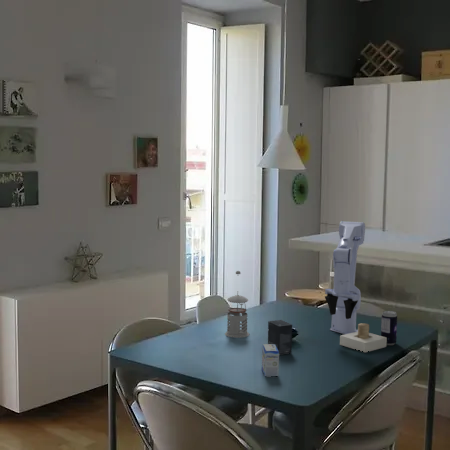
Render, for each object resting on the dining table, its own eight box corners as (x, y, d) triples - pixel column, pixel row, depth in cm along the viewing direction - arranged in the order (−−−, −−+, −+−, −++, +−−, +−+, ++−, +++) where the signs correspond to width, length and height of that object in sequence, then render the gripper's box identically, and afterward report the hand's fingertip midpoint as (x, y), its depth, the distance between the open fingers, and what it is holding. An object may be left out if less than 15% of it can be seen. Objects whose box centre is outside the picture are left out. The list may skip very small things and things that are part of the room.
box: (291, 353, 248) (292, 324, 247) (278, 355, 246) (278, 325, 245) (280, 347, 255) (281, 319, 254) (267, 349, 253) (267, 320, 252)
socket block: (339, 344, 260) (340, 335, 260) (361, 339, 267) (361, 330, 267) (364, 352, 251) (365, 342, 250) (386, 346, 258) (386, 337, 258)
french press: (220, 335, 270) (221, 271, 267) (231, 328, 281) (232, 267, 278) (244, 338, 266) (245, 274, 263) (254, 331, 277) (256, 269, 274)
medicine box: (261, 369, 230) (262, 343, 229) (274, 369, 231) (275, 343, 230) (264, 377, 222) (265, 350, 221) (278, 377, 223) (279, 350, 222)
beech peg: (355, 345, 260) (355, 324, 259) (362, 343, 262) (363, 322, 261) (363, 348, 256) (364, 326, 255) (370, 346, 259) (371, 325, 258)
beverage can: (396, 346, 259) (397, 314, 258) (380, 345, 260) (381, 313, 259) (396, 342, 264) (397, 311, 263) (380, 341, 266) (381, 310, 264)
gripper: (319, 278, 262) (318, 314, 263) (349, 284, 251) (348, 321, 252) (332, 276, 266) (331, 311, 268) (362, 282, 255) (361, 319, 256)
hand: (340, 316), depth 260 cm, fingers open, 7 cm apart
